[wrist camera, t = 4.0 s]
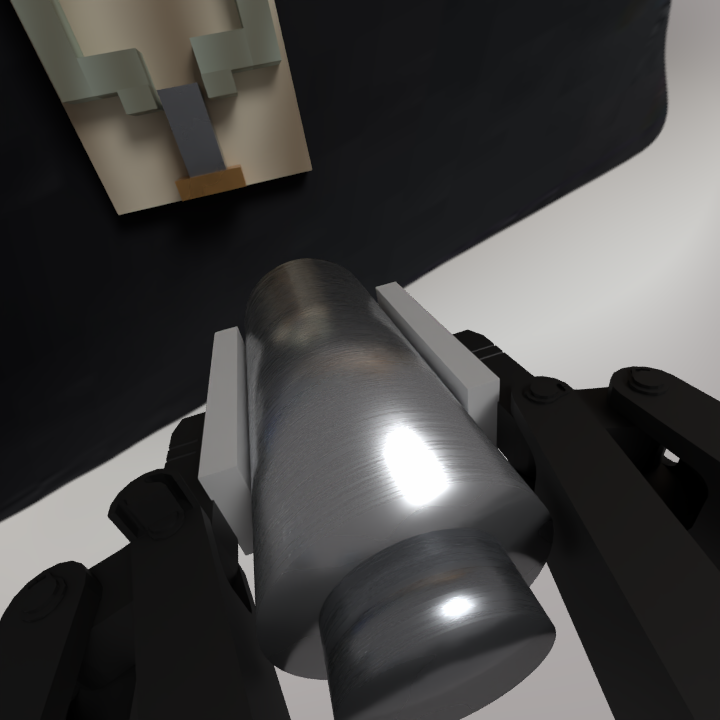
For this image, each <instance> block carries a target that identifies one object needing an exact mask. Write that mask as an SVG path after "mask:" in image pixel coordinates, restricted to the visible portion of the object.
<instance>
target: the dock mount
mask: <svg viewBox="0 0 720 720" xmlns="http://www.w3.org/2000/svg"><path fill="white" fill-rule="evenodd" d="M10 2H11V4H12V5H13V7H14V9H15V11H16V13H17V15H18V17H19V19H20V21H21V23H22V25H23V27H24V29H25V31H26V33H27V35H28V37H29V39H30V41H31V43H32V45H33V47H34V49H35V51H36V53H37V55H38V57H39V59H40V61H41V63H42V65H43V67H44V69H45V71H46V73H47V75H48V77H49V79H50V81H51V83H52V85H53V87H54V89H55V91H56V93H57V94H58V96H59V98H60V100H61V102H62V104H63V106H64V108H65V110H66V112H67V114H68V116H69V118H70V120H71V122H72V124H73V126H74V128H75V130H76V132H77V134H78V136H79V138H80V140H81V142H82V144H83V146H84V148H85V150H86V152H87V154H88V156H89V158H90V160H91V162H92V164H93V166H94V168H95V170H96V172H97V174H98V176H99V178H100V180H101V181H102V183H103V185H104V187H105V189H106V191H107V193H108V195H109V197H110V199H111V201H112V203H113V205H114V207H115V209H116V211H117V213H118V215H121V214H126V213H130V212H134V211H139V210H143V209H147V208H151V207H156V206H160V205H164V204H169V203H173V202H177V201H182V199H181V196H180V194H179V191H178V189H177V187H176V184H175V181H176V180H178V179H179V178H181V177H186V176H189V173H188V171H187V168H186V165H185V163H184V160H183V158H182V155H181V152H180V150H179V147H178V145H177V142H176V140H175V137H174V134H173V132H172V129H171V127H170V124H169V121H168V119H167V116H166V114H165V111H164V109H163V106H162V103H161V101H160V98H159V96H158V93H157V90H161V89H166V88H171V87H176V86H181V85H186V84H192V83H198V84H199V85H200V87H201V89H202V92H203V95H204V98H205V101H206V104H207V107H208V110H209V113H210V116H211V119H212V122H213V125H214V128H215V131H216V134H217V137H218V140H219V143H220V146H221V149H222V152H223V155H224V158H225V161H226V164H227V167H230V166H234V165H239V164H241V167H242V170H243V173H244V177H245V180H246V185H250V184H254V183H259V182H263V181H267V180H272V179H276V178H280V177H285V176H289V175H293V174H297V173H302V172H306V171H310V170H312V167H311V162H310V158H309V153H308V149H307V144H306V140H305V136H304V131H303V127H302V122H301V118H300V113H299V109H298V104H297V100H296V96H295V91H294V87H293V82H292V78H291V73H290V69H289V64H288V60H287V55H286V51H285V47H284V42H283V38H282V33H281V29H280V24H279V20H278V15H277V11H276V7H275V2H274V0H10Z"/></svg>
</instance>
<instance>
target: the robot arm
mask: <svg viewBox="0 0 720 720" xmlns="http://www.w3.org/2000/svg"><path fill="white" fill-rule="evenodd" d="M376 293H377V299H378V305H379V306H380V307H381V309H382V310H383V311H384V312H385V313H386V315H387V316H388V317H389V318H390V319H391V321H392V322H393V323H394V324H395V325H396V327H397V328H398V329H399V330H400V331H401V333H402V334H403V335H404V336H405V338H406V339H407V340H408V341H409V342H410V344H411V345H412V346H413V347H414V348H415V350H416V351H417V352H418V353H419V354H420V356H421V357H422V358H423V359H424V360H425V362H426V363H427V364H428V365H429V366H430V368H431V369H432V370H433V371H434V373H435V374H436V375H437V376H438V377H439V379H440V380H441V381H442V382H443V383H444V385H445V386H446V387H447V388H448V389H449V391H450V392H451V393H452V394H453V395H454V397H455V398H456V399H457V400H458V402H459V403H460V404H461V405H462V406H463V408H464V409H465V410H466V411H467V412H468V414H469V415H470V416H471V417H472V418H473V420H474V421H475V422H476V423H477V424H478V426H479V427H480V428H481V429H482V430H483V432H484V433H485V434H486V435H487V437H488V438H489V439H490V440H491V441H492V443H493V444H494V445H495V446H496V447H497V449H498V448H499V450H500V451H501V452H502V453H503V454H504V456H505V457H506V458H507V459H508V462H509V463H510V464H511V465H512V467H513V468H514V469H515V470H516V472H517V473H518V474H519V475H520V476H521V478H522V479H523V480H524V481H525V482H526V484H527V485H528V486H529V487H530V488H531V490H532V491H533V492H534V493H535V494H536V496H537V497H538V498H539V499H540V500H541V502H542V503H543V504H544V505H545V507H546V508H547V509H548V511H549V513H550V515H551V518H552V520H553V527H554V537H553V543H552V547H551V551H550V554H549V556H548V558H547V561H546V562H547V564H548V567H549V569H550V571H551V573H552V576H553V578H554V580H555V582H556V585H557V587H558V589H559V592H560V594H561V596H562V599H563V601H564V603H565V605H566V608H567V610H568V613H569V615H570V617H571V619H572V622H573V624H574V626H575V629H576V631H577V633H578V636H579V638H580V640H581V642H582V645H583V647H584V649H585V651H586V654H587V656H588V659H589V661H590V663H591V665H592V667H593V670H594V672H595V674H596V677H597V679H598V682H599V684H600V686H601V688H602V691H603V693H604V695H605V698H606V700H607V702H608V704H609V707H610V709H611V711H612V714H613V716H614V718H615V720H720V401H718V400H716V399H715V398H713V397H711V396H709V395H707V394H705V393H704V392H702V391H700V390H699V389H697V388H695V387H693V386H691V385H689V384H688V383H686V382H684V381H682V380H681V379H679V378H677V377H675V376H674V375H671V374H669V373H666V372H664V371H662V370H658V369H654V368H649V367H634V366H633V367H627V368H622V369H620V370H618V371H617V372H614V374H613V375H612V377H611V379H610V384H609V387H604V388H593V389H581V390H574V389H572V388H571V387H570V386H569V385H568V384H566V383H565V382H562V381H560V380H558V379H555V378H550V377H544V376H537V377H534V376H533V375H531V374H530V373H529V372H528V371H526V370H525V369H524V368H523V367H522V366H520V365H519V364H518V363H517V362H516V361H514V360H513V359H512V358H511V357H509V356H508V355H507V354H506V353H503V352H502V350H501V349H500V348H498V347H497V346H494V344H493V343H492V342H491V341H490V340H489V339H487V338H486V337H485V336H484V335H481V334H479V333H475V332H473V331H470V330H465V331H462V332H459V333H456V334H451V333H450V332H449V331H448V330H447V329H446V328H445V327H444V326H443V325H441V324H440V323H439V322H438V321H437V320H436V319H435V318H434V317H433V316H432V315H431V314H430V313H429V312H428V311H426V310H425V309H424V308H423V307H422V306H421V305H420V304H419V303H418V302H417V301H416V300H415V299H414V298H412V297H411V296H410V295H409V294H408V293H407V292H406V291H405V290H404V289H403V288H402V287H401V286H400V285H398V284H397V283H396V282H393V283H389V284H385V285H382V286H378V287H376ZM666 449H668V450H669V451H670V452H672V453H673V454H675V455H676V456H677V457H679V458H680V459H679V462H678V463H676V462H673V461H671V460H669V459H667V458H666V457H665V456H664V453H665V450H666ZM166 461H167V463H165V468H164V469H156V470H154V471H151V472H148V473H145V474H143V475H142V476H140V477H138V478H137V479H135V480H133V481H132V482H130V483H129V484H128V485H127V486H126V487H125V488H124V489H123V490H122V491H120V492H119V494H118V495H117V496H116V498H115V499H114V501H113V502H112V504H111V505H110V509H109V512H108V518H109V519H110V520H111V521H112V522H113V523H114V524H115V525H116V526H117V528H118V529H119V530H120V531H121V532H122V533H123V534H124V535H125V536H126V538H127V539H128V540H129V541H130V542H131V543H129V544H128V545H126V546H125V547H124V548H122V549H121V550H120V551H118V552H116V553H115V554H113V555H111V556H110V557H108V558H106V559H105V560H103V561H101V562H100V563H98V564H97V565H95V566H93V567H92V568H90V569H87V568H86V567H85V566H84V565H83V564H82V563H78V562H75V561H68V562H64V563H59V564H57V565H55V566H53V567H51V568H49V569H47V570H45V571H43V572H42V573H40V574H39V575H38V576H36V577H35V578H34V579H32V580H31V581H30V582H28V583H27V584H26V585H25V586H24V587H23V588H22V589H21V590H20V592H19V593H18V594H17V595H16V596H15V597H14V598H13V600H12V601H11V603H10V604H9V606H8V607H7V609H6V610H5V612H4V614H3V616H2V618H1V620H0V720H291V719H290V716H289V713H288V709H287V706H286V703H285V700H284V696H283V693H282V690H281V687H280V684H279V681H278V677H277V674H276V671H275V668H274V665H273V664H272V663H271V662H270V661H269V660H268V659H267V658H266V657H265V656H264V654H263V653H262V651H261V649H260V648H259V644H258V640H257V636H256V609H255V604H254V601H253V597H252V594H251V591H250V588H249V585H248V581H247V578H246V575H245V573H244V571H243V570H242V568H241V566H240V565H239V563H238V544H239V545H240V547H241V548H242V550H243V552H244V553H245V555H249V554H252V553H253V527H252V500H251V473H250V446H249V419H248V392H247V365H246V347H245V344H244V342H243V339H242V337H241V334H240V332H239V329H238V327H233V328H230V329H226V330H223V331H219V332H216V333H215V336H214V345H213V354H212V362H211V371H210V379H209V388H208V396H207V405H206V412H204V413H201V414H197V415H194V416H191V417H188V418H184V419H182V420H181V422H180V423H179V425H178V426H177V427H176V429H175V430H174V432H173V433H172V436H171V440H170V445H169V451H168V454H167V458H166Z"/></svg>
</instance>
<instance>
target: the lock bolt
mask: <svg viewBox="0 0 720 720" xmlns="http://www.w3.org/2000/svg"><path fill="white" fill-rule="evenodd" d="M157 93H158V96H159V98H160V101H161V103H162V106H163V109H164V111H165V114H166V116H167V119H168V121H169V124H170V127H171V129H172V132H173V134H174V137H175V140H176V142H177V145H178V147H179V150H180V152H181V155H182V158H183V160H184V163H185V165H186V168H187V171H188V173H189V176H186V177H181V178H179V179H178V180H176V181H175V184H176V187H177V189H178V191H179V194H180V196H181V199H182V201H185V200H190V199H194V198H198V197H202V196H207V195H211V194H215V193H220V192H224V191H228V190H233V189H237V188H241V187H245V186H247V185H246V180H245V177H244V173H243V170H242V167H241V164H239V165H234V166H230V167H227V164H226V161H225V158H224V155H223V152H222V149H221V146H220V143H219V140H218V137H217V134H216V131H215V128H214V125H213V122H212V119H211V116H210V113H209V110H208V107H207V104H206V101H205V98H204V95H203V92H202V89H201V87H200V85H199V84H198V83H192V84H186V85H181V86H176V87H171V88H166V89H161V90H157Z"/></svg>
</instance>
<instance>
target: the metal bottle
mask: <svg viewBox="0 0 720 720" xmlns="http://www.w3.org/2000/svg"><path fill="white" fill-rule="evenodd" d="M245 338H246V365H247V392H248V419H249V446H250V473H251V500H252V527H253V554H254V580H255V609H256V636H257V640H258V644H259V648H260V649H261V651H262V653H263V654H264V656H265V657H266V658H267V659H268V660H269V661H270V662H271V663H272V664H273V665H274V666H276V667H278V668H279V669H281V670H283V671H285V672H287V673H290V674H292V675H296V676H300V677H304V678H310V679H319V680H328V685H329V691H330V697H331V702H332V709H333V715H334V720H460V719H462V718H464V717H466V716H468V715H470V714H472V713H474V712H476V711H478V710H479V709H481V708H483V707H484V706H486V705H488V704H490V703H491V702H493V701H495V700H496V699H498V698H499V697H501V696H503V695H504V694H505V693H507V692H508V691H510V690H511V689H513V688H514V687H515V686H516V685H518V684H519V683H520V682H522V681H523V680H524V679H525V678H526V677H527V676H529V675H530V674H531V673H532V672H533V671H534V670H535V669H536V668H537V667H538V666H539V665H540V664H541V662H542V661H543V660H544V659H545V658H546V656H547V655H548V653H549V652H550V650H551V648H552V646H553V644H554V641H555V638H556V630H555V627H554V625H553V624H552V622H551V620H550V619H549V617H548V616H547V614H546V613H545V611H544V609H543V608H542V606H541V605H540V603H539V602H538V600H537V599H536V597H535V595H534V594H533V592H532V591H531V589H530V588H529V587H530V585H531V584H532V583H533V582H534V580H535V579H536V577H537V576H538V575H539V573H540V571H541V570H542V568H543V566H544V565H545V563H546V561H547V558H548V556H549V554H550V551H551V547H552V543H553V537H554V527H553V520H552V518H551V515H550V513H549V511H548V509H547V508H546V507H545V505H544V504H543V503H542V502H541V500H540V499H539V498H538V497H537V496H536V494H535V493H534V492H533V491H532V490H531V488H530V487H529V486H528V485H527V484H526V482H525V481H524V480H523V479H522V478H521V476H520V475H519V474H518V473H517V472H516V470H515V469H514V468H513V467H512V465H511V464H510V463H509V462H508V461H507V460H506V458H505V457H504V456H503V455H502V453H501V452H500V451H499V450H498V449H497V447H496V446H495V445H494V444H493V443H492V441H491V440H490V439H489V438H488V437H487V435H486V434H485V433H484V432H483V430H482V429H481V428H480V427H479V426H478V424H477V423H476V422H475V421H474V420H473V418H472V417H471V416H470V415H469V414H468V412H467V411H466V410H465V409H464V408H463V406H462V405H461V404H460V403H459V402H458V400H457V399H456V398H455V397H454V395H453V394H452V393H451V392H450V391H449V389H448V388H447V387H446V386H445V385H444V383H443V382H442V381H441V380H440V379H439V377H438V376H437V375H436V374H435V373H434V371H433V370H432V369H431V368H430V366H429V365H428V364H427V363H426V362H425V360H424V359H423V358H422V357H421V356H420V354H419V353H418V352H417V351H416V350H415V348H414V347H413V346H412V345H411V344H410V342H409V341H408V340H407V339H406V338H405V336H404V335H403V334H402V333H401V331H400V330H399V329H398V328H397V327H396V325H395V324H394V323H393V322H392V321H391V319H390V318H389V317H388V316H387V315H386V313H385V312H384V311H383V310H382V309H381V307H380V306H379V305H378V304H377V303H376V301H375V300H374V299H373V298H372V296H371V295H370V294H369V293H368V292H367V290H366V289H365V288H364V287H363V286H362V284H361V283H360V282H359V281H358V280H357V278H356V277H355V276H354V275H353V274H352V273H351V272H349V271H348V270H347V269H345V268H344V267H342V266H340V265H338V264H336V263H333V262H330V261H327V260H323V259H314V258H306V259H298V260H293V261H290V262H287V263H284V264H282V265H280V266H278V267H276V268H275V269H273V270H272V271H270V272H269V273H267V274H266V275H265V276H264V277H263V278H262V279H261V280H260V281H259V282H258V284H257V285H256V286H255V288H254V289H253V291H252V293H251V295H250V297H249V299H248V303H247V306H246V311H245Z"/></svg>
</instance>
